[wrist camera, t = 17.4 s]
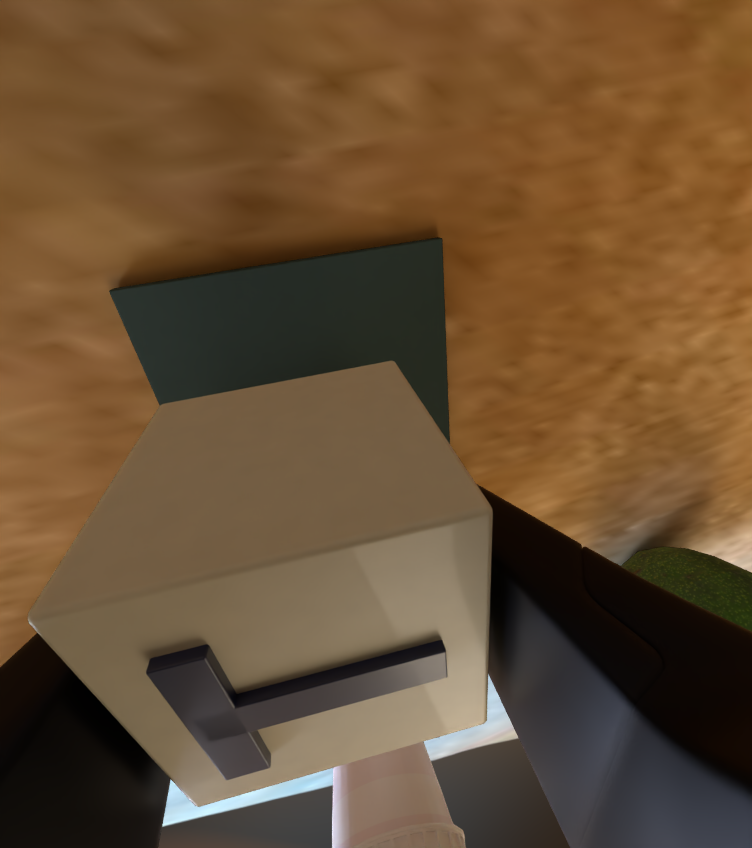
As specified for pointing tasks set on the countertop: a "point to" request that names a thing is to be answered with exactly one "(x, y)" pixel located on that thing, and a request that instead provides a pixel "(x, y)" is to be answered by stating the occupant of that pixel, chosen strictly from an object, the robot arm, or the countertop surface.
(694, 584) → the avocado
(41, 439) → the countertop surface
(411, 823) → the smoothie
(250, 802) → the countertop surface
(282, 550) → the tile
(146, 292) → the word mat
